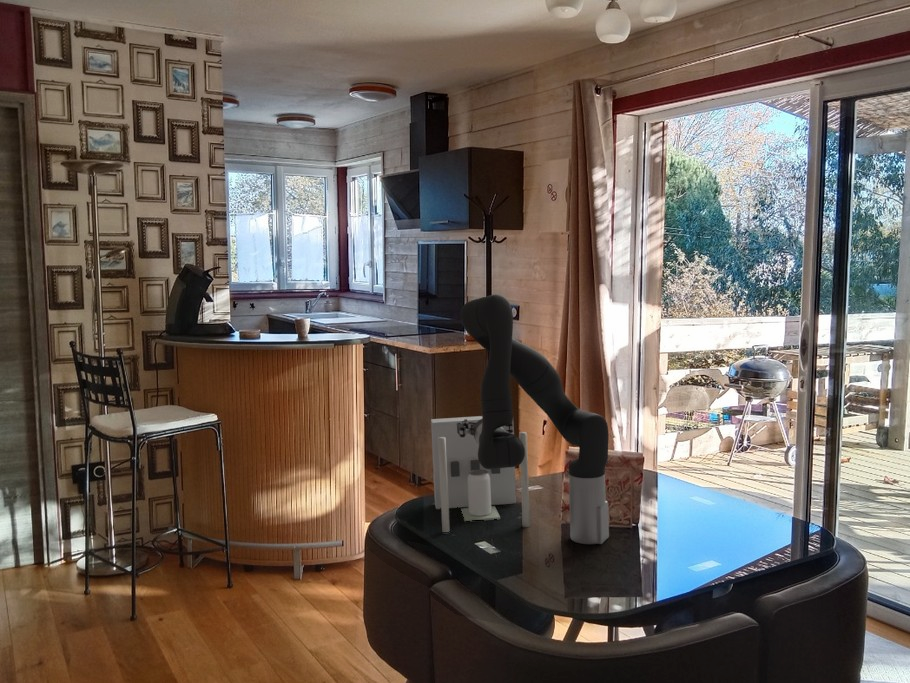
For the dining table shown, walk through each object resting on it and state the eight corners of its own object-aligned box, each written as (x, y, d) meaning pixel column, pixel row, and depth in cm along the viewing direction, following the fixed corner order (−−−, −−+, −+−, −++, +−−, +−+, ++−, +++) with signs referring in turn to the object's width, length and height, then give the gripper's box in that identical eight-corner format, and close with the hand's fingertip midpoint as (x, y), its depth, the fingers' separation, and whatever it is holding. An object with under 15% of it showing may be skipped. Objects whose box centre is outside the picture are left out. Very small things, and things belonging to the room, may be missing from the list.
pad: (500, 519, 221) (500, 517, 221) (464, 521, 220) (464, 519, 220) (494, 508, 231) (494, 506, 230) (461, 510, 230) (461, 508, 229)
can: (491, 516, 222) (490, 474, 220) (468, 517, 222) (467, 475, 220) (491, 509, 228) (489, 468, 227) (468, 509, 228) (467, 469, 227)
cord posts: (530, 526, 213) (527, 433, 211) (442, 533, 211) (438, 438, 208) (529, 524, 215) (525, 431, 213) (442, 531, 213) (437, 437, 210)
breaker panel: (517, 505, 232) (514, 418, 229) (436, 511, 230) (432, 424, 227) (513, 498, 239) (510, 414, 236) (434, 503, 237) (431, 419, 234)
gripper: (517, 418, 195) (506, 405, 211) (460, 423, 194) (453, 410, 210) (519, 447, 196) (508, 432, 212) (462, 453, 195) (455, 437, 211)
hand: (481, 421), depth 211 cm, fingers open, 8 cm apart
